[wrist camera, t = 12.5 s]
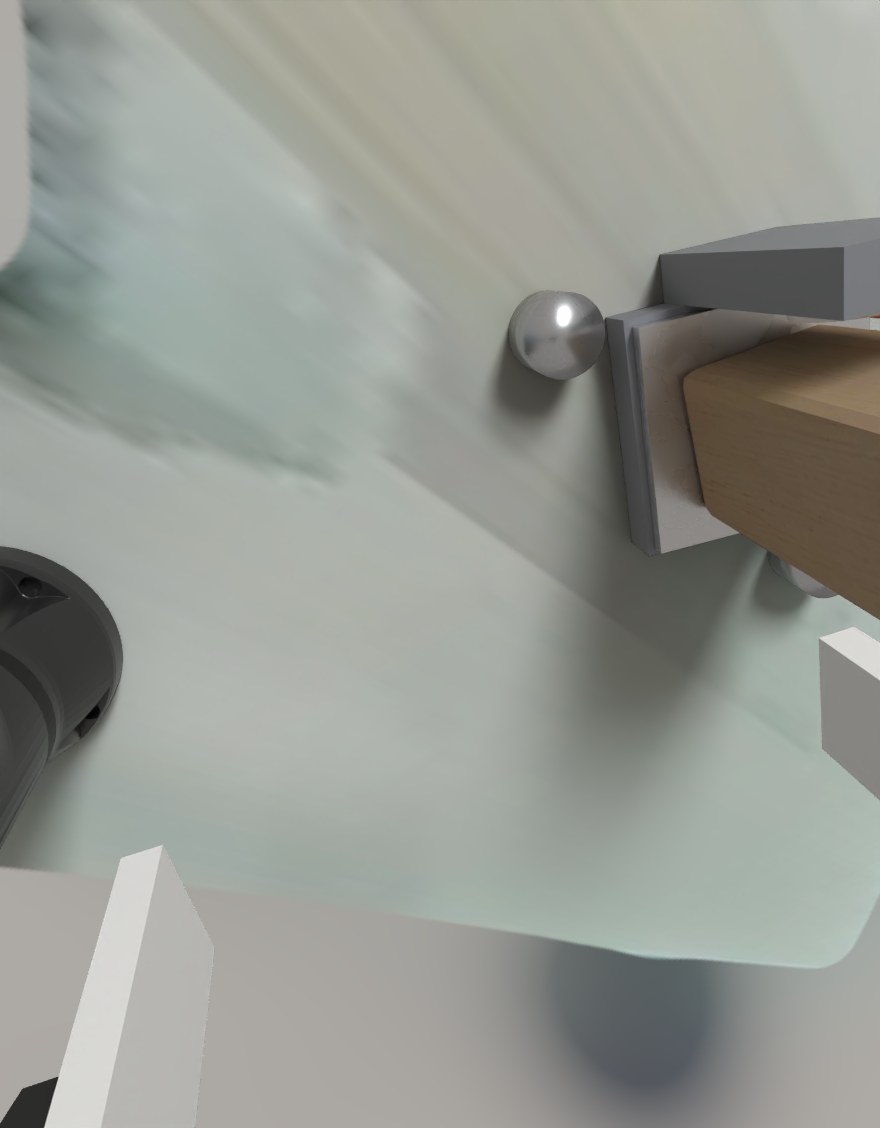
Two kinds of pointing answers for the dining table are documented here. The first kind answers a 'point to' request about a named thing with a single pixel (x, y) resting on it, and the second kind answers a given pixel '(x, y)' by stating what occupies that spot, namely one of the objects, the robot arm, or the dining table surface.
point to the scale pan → (666, 427)
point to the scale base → (743, 283)
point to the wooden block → (797, 452)
